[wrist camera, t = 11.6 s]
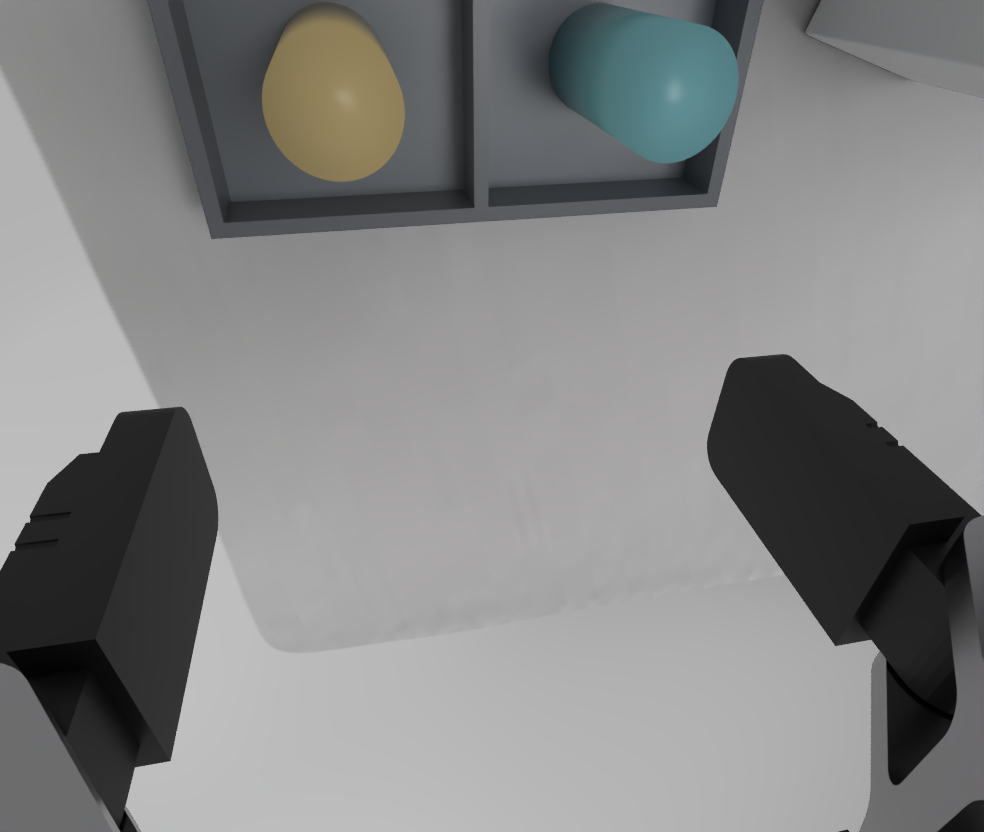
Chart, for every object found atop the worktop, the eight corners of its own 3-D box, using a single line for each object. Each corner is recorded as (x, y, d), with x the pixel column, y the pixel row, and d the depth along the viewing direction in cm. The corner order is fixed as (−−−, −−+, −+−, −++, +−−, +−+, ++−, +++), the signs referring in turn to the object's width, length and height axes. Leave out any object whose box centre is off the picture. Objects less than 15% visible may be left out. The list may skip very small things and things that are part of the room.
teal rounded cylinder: (647, 2, 25) (752, 22, 19) (633, 110, 28) (722, 160, 21) (551, 3, 25) (628, 24, 18) (546, 114, 27) (612, 166, 21)
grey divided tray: (738, -110, 24) (789, -116, 22) (682, 183, 31) (716, 206, 28) (139, -127, 21) (110, -138, 18) (223, 209, 28) (211, 238, 25)
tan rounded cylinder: (379, 1, 23) (398, 28, 17) (390, 117, 26) (410, 177, 20) (268, 3, 23) (246, 32, 17) (290, 122, 25) (278, 185, 19)
